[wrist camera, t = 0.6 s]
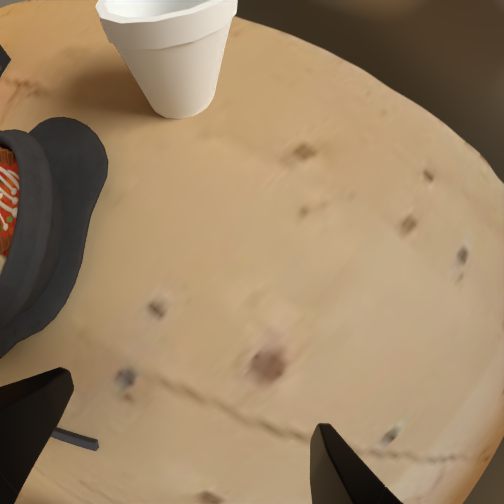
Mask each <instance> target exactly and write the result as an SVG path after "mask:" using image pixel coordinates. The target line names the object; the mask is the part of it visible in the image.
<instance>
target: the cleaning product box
mask: <svg viewBox="0 0 504 504" xmlns="http://www.w3.org/2000/svg"><path fill="white" fill-rule="evenodd" d="M10 61H11V59H10V57H9V56H8V55H7V53H6V52H5V51H4V49H3V48H2V47H1V45H0V77H1V75H2V73H3V72H4V70H5V68H6V67H7V65H8V64H9V62H10Z"/></svg>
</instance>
